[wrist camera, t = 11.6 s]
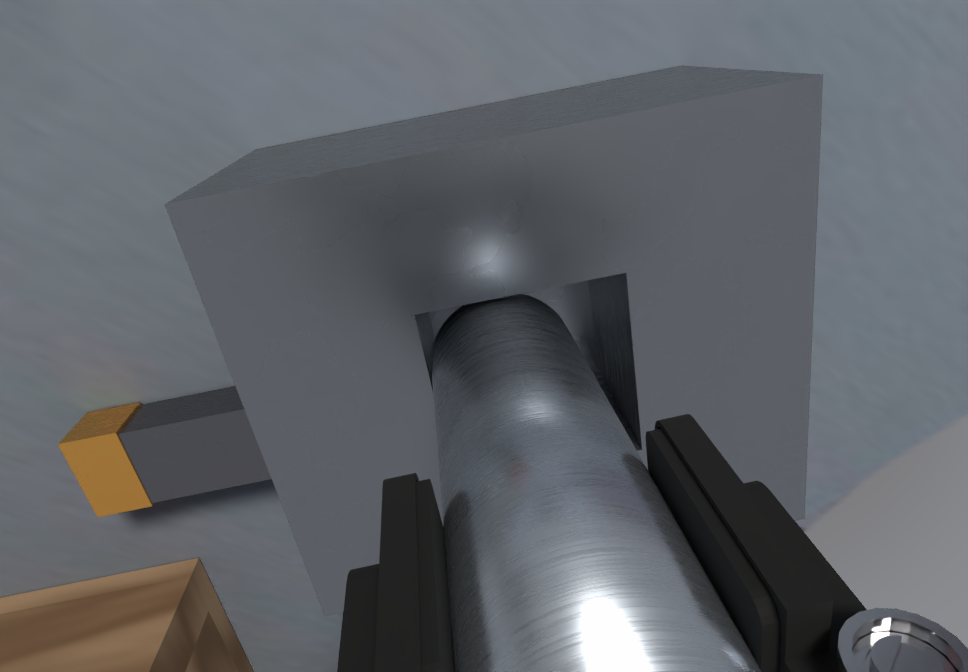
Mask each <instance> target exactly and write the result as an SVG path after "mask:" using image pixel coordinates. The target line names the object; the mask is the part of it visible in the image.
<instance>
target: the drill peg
mask: <svg viewBox="0 0 968 672" xmlns="http://www.w3.org/2000/svg"><path fill="white" fill-rule="evenodd" d="M431 371H432V384H433V397H434V410H435V423H436V436H437V449H438V462H439V476H440V489H441V502H442V515H443V528H444V541H445V554H446V567H447V580H448V593H449V606H450V619H451V631H452V644H453V657H454V670H455V672H761V670H760V668H759V666H758V664H757V663H756V661H755V659H754V657H753V656H752V654H751V652H750V650H749V649H748V647H747V645H746V643H745V641H744V640H743V638H742V636H741V634H740V633H739V631H738V629H737V627H736V626H735V624H734V622H733V620H732V618H731V617H730V615H729V613H728V611H727V610H726V608H725V606H724V604H723V602H722V601H721V599H720V597H719V595H718V594H717V592H716V590H715V588H714V587H713V585H712V583H711V581H710V579H709V578H708V576H707V574H706V572H705V571H704V569H703V567H702V565H701V564H700V562H699V560H698V558H697V556H696V555H695V553H694V551H693V549H692V548H691V546H690V544H689V542H688V541H687V539H686V537H685V535H684V533H683V532H682V530H681V528H680V526H679V525H678V523H677V521H676V519H675V518H674V516H673V514H672V512H671V510H670V509H669V507H668V505H667V503H666V502H665V500H664V498H663V496H662V494H661V493H660V491H659V489H658V487H657V486H656V484H655V482H654V480H653V479H652V477H651V475H650V473H649V471H648V470H647V468H646V466H645V464H644V463H643V461H642V459H641V457H640V456H639V454H638V452H637V450H636V448H635V447H634V445H633V443H632V441H631V440H630V438H629V436H628V434H627V433H626V431H625V429H624V427H623V425H622V424H621V422H620V420H619V418H618V417H617V415H616V413H615V411H614V409H613V408H612V406H611V404H610V402H609V401H608V399H607V397H606V395H605V394H604V392H603V390H602V388H601V386H600V385H599V383H598V381H597V379H596V378H595V376H594V374H593V372H592V371H591V369H590V367H589V365H588V363H587V362H586V360H585V358H584V356H583V355H582V353H581V351H580V349H579V348H578V346H577V344H576V342H575V340H574V339H573V337H572V335H571V333H570V332H569V330H568V328H567V326H566V324H565V323H564V321H563V320H562V318H561V317H560V316H559V315H558V314H557V313H556V311H555V310H554V309H552V308H551V307H550V306H549V305H547V304H546V303H544V302H542V301H541V300H539V299H537V298H534V297H532V296H529V295H525V294H517V295H512V296H507V297H502V298H497V299H492V300H487V301H482V302H476V303H471V304H466V305H462V306H461V307H459V308H458V309H457V310H456V311H454V312H453V313H452V314H451V315H450V316H449V317H448V318H447V320H446V321H445V322H444V323H443V325H442V326H441V328H440V329H439V331H438V333H437V335H436V338H435V340H434V344H433V347H432V353H431Z"/></svg>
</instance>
